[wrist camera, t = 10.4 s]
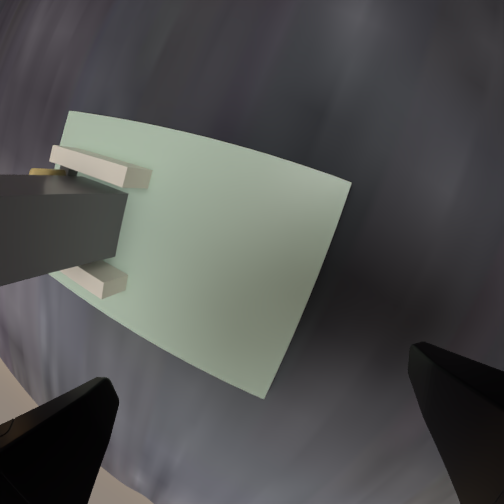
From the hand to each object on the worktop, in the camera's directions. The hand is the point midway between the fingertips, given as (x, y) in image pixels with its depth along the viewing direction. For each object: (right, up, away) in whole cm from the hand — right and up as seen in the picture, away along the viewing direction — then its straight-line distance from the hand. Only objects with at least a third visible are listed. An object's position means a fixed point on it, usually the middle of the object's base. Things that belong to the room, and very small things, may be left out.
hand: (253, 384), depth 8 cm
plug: (-11, +6, +12) cm, 18 cm away
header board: (-7, +5, +12) cm, 15 cm away
